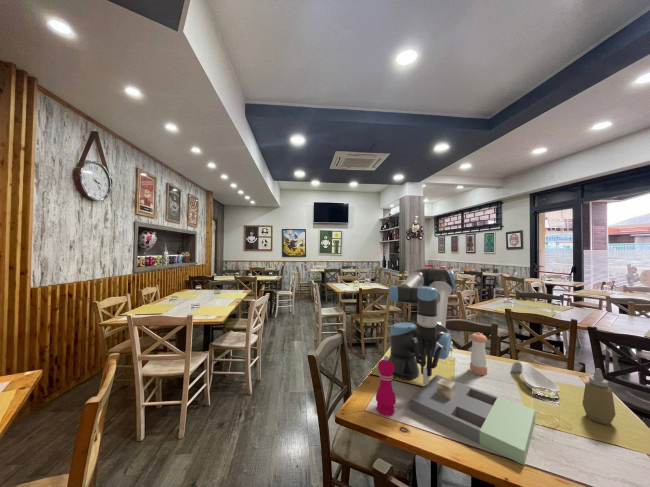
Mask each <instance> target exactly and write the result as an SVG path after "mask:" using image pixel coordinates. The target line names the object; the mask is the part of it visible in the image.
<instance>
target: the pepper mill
mask: <svg viewBox="0 0 650 487" xmlns="http://www.w3.org/2000/svg"><path fill="white" fill-rule="evenodd" d="M377 370H378V372H379V373H378V374H379V375H378V377H379V380H380V381H379V386H378V388H377V391H376V394H375V400H376V410H377V412H378V413H379V414H381V415H383V416H393V415H394V413H395V404H396V400H397V399H396V394H395V392H394V389H393V384H392V383H393V382H392V381H393V379H394V376H393V374H392V373H393V372H394V365H393V363H392V362H391V361H390V360H389V356H387V355H385V356H383V359H381V360H379V362H377Z"/></svg>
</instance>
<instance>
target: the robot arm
mask: <svg viewBox="0 0 650 487" xmlns="http://www.w3.org/2000/svg"><path fill="white" fill-rule="evenodd" d="M455 290H456V282H455V273H454V271H453V270H452V269H447V268H445V269H441V268H420V269H417V270H413V271H412V272H410V273H409V274H408V275H407V277H406V279H405V280H404V281H402V283H400V284H398V285H391V286H390V287H389V289H388V300H389V301H391V302H395V303H400V304H401V303H403V304H411V305H417V308H416V309H417V310H416V316H417V317H416V322H417V324H415V323H412V322H397V323H394V324H392V325H391V328H390V334H389V335H390V350H389V351H390V354H389V356H388V358H389V360H390V361H391V362H392V363H393V365H394V372H393V373H392V374H393V377H394V376H395V377H394V378H397V377H398V378H397V379H400V378H402V379H401V380H415V379H417V378H419V375H420V374H421V375H422V384H423V385H427V384H428V383H429V381H430V377H431V376H432V374H433V373H432V372H433V371H432V370H433V369H436V368H437V367H438V362H439V360H447V358H448V357H449V354H450V351H451V344H452V335H451V333H449V331H448V330H449V329H447V327H446V322H447V312H448V302H449V296H450V295H451V294H452V292H453V291H455ZM418 364H419V365H420V368H419V365H418ZM416 377H417V378H416ZM414 378H415V379H414Z"/></svg>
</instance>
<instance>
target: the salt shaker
mask: <svg viewBox="0 0 650 487" xmlns="http://www.w3.org/2000/svg"><path fill="white" fill-rule="evenodd" d="M470 339H471V342H472V343H471V354H470V362H469V369H470V370H469V371H471V373H473V374H476V375H479V376H486V375H488V365H487V354H486V343H487V342H488V338H487V336H486V335H484V334H482V333H480V332H479V331H478V332H477V333H476V332H475V333H472V334H470Z"/></svg>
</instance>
